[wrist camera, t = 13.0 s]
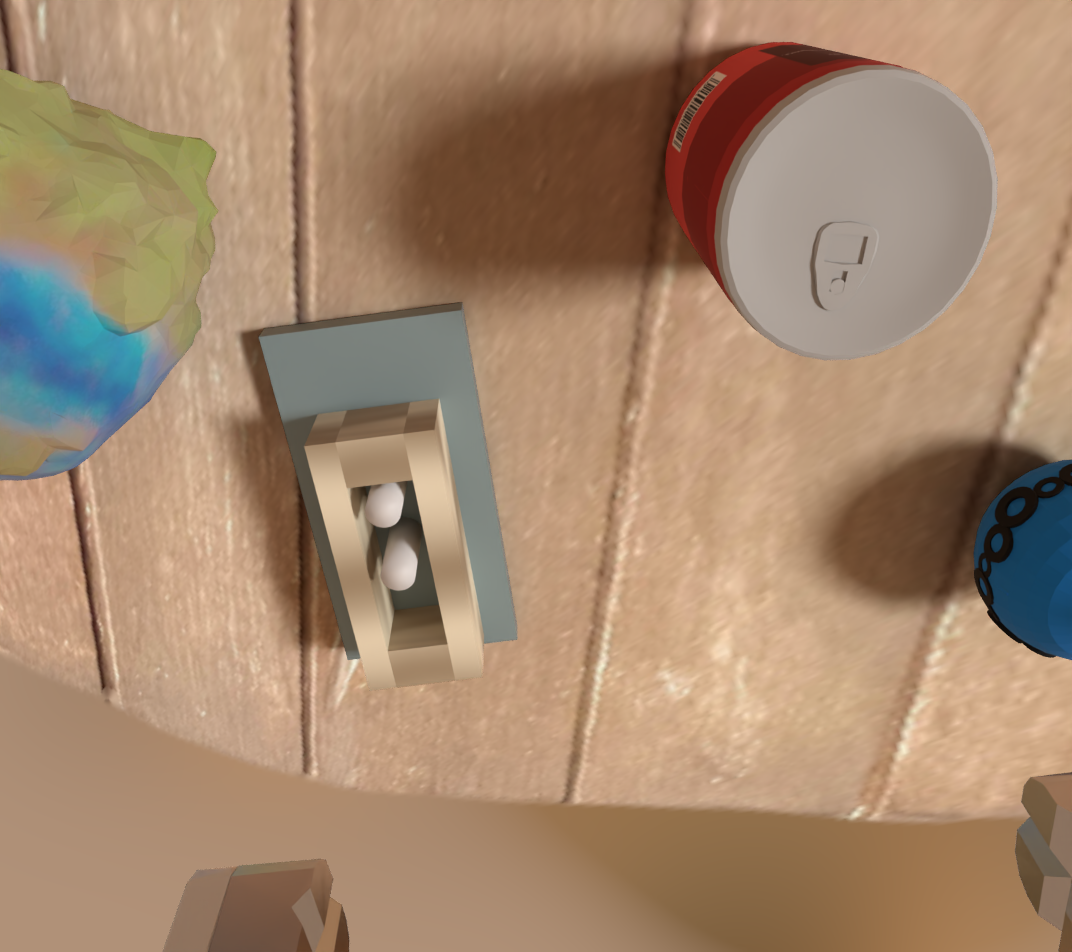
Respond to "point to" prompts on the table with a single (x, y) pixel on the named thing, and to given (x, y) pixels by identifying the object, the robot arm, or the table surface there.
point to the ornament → (1030, 560)
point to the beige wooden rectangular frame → (340, 478)
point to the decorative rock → (90, 270)
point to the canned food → (831, 195)
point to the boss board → (393, 378)
